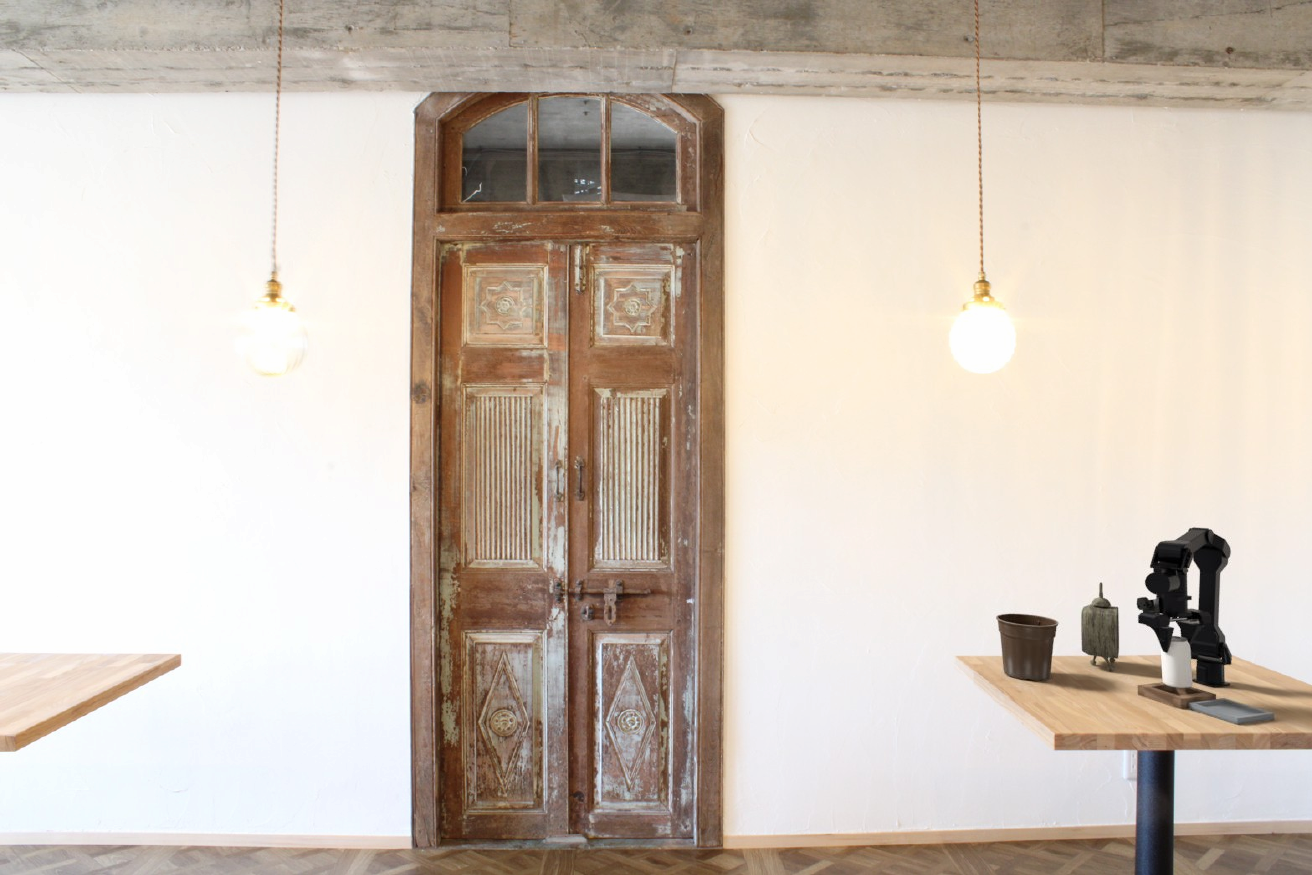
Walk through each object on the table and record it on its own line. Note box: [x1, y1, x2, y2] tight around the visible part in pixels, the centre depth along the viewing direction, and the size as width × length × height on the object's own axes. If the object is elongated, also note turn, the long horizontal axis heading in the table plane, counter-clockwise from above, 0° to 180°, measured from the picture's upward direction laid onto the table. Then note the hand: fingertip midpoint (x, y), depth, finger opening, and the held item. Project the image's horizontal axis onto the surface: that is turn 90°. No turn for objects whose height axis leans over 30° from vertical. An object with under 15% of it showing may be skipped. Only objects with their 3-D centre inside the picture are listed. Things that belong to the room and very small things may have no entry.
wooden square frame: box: [1137, 681, 1217, 710], centre depth 200 cm, size 12×12×2 cm
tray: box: [1188, 697, 1275, 726], centre depth 189 cm, size 12×12×2 cm
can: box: [1160, 635, 1194, 688], centre depth 200 cm, size 6×6×12 cm
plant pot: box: [995, 613, 1059, 682], centre depth 222 cm, size 16×16×16 cm
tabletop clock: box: [1080, 582, 1120, 672], centre depth 232 cm, size 14×9×25 cm, turn 147°
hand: (1175, 651), depth 200 cm, fingers closed on can, 6 cm apart
